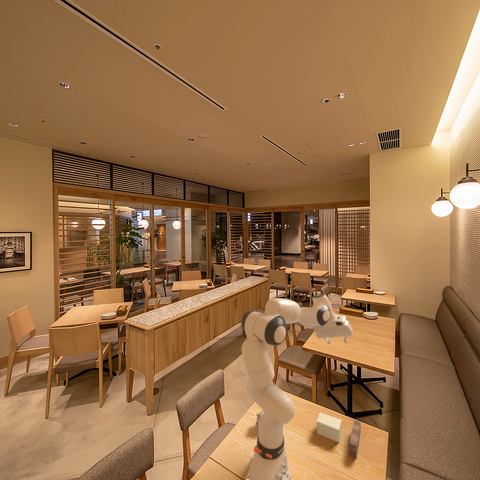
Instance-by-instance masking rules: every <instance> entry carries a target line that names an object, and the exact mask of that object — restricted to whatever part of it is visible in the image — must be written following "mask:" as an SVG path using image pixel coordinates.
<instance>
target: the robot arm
mask: <svg viewBox="0 0 480 480" xmlns="http://www.w3.org/2000/svg"><path fill="white" fill-rule="evenodd" d="M312 303H313V304H312V307H310V306H308V307H304V306H300V305H299V304H298V302H296V301H294V300H291V299H287V298H277V297H275V298H271V299H269V300H268V301H266V304H265V306H264V311H263V312H259V311H257V310H248V311H246V312H245V313H244V314H243V316H242V317H241V321H240V322H241V324H240V325H241V330H242V336H243V337H244V338H245V340H244V341H243V342H242V344H241V356H242V361H243V363H244V367H245V370H246V372H247V376H248V378H249V380H248V383H247V385H246V386H247V388H246V389H247V392H248V394H249V396H250V397H251V399H252V400H253V402H255V404H257V405H258V406H259V407H260V408H261V409H262V411H264V414H262V415H261V417H260V418H259V421H258V424H257V429H258V430H257V431H258V435H257V439H256V445H255V446H254V449H253V452H254V454H253V455H252V458H251V461H250V465H249V467H248V469H247V473H246V475H245V478H246V477H247V478H246V479H249V480H291V479H292V477H293V476H292V472H291V470H290V469H289V461H288V456H287V453H286V450H285V438H284V425H286V424H289V423H290V422H291V421H292V420H293V418H294V416H295V412H296V407H295V403H294V401H293V400H292V399H291V398H290V396H289V395H288V393H286V392H285V391H283V390H282V389H281V388H280V387H279V386H277V385H276V384H275V383H274V380H273V379H274V378H275V370H274V366H273V363H272V361H271V358H270V355H269V352H268V350H267V344H268V346H269V345H270V346H273V347H274V346H280V345H282V343H283V342H285V339H286V338H287V324H288V325H289V324H291V325H292V324H297V325H298V326H300V327H303V326H304V327H306V326H309V327H310V326H312V328H313V329H314V334H315V336H316V338H318V339H323V340H324V341H325V342H326V343H327V345H331V344H332V340H331V339H330V338H338V337H341V338H342V337H344V338H343V342H344V344H348V343H349V342H348V341H349V340H348V337H352V336H353V334H354V330H353V328H352V325H351V323H350V322H349V321H348V320H347V317H346V316H345V315H341V314H336V313H335V311H333V306H332V304H331V301H330V299H329V298H328V296H327V295H326V294H324V293H319V294H315V295H313V296H312ZM248 474H249V475H248ZM246 479H244V480H246Z"/></svg>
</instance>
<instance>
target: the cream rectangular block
mask: <svg viewBox="0 0 480 480" xmlns="http://www.w3.org/2000/svg"><path fill="white" fill-rule="evenodd" d="M342 432H343V431H342V419H341V418H337V417H334V416H331V415H329V414H326V413H323V412H321V411H320V412H319V414H318V416H317V420H316V434H317V435H320V436H322V437H324V438H326V439H329V440H332V441H334V442H336V443H338V444H339V443H340V440H341V437H342Z"/></svg>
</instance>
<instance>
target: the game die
mask: <svg viewBox="0 0 480 480" xmlns="http://www.w3.org/2000/svg"><path fill="white" fill-rule="evenodd" d="M262 414H264V411H263V410H262V411H260V412H259V413H256V414H255V415H256V422H255V425H258V421H259V418H260V417H261V415H262Z"/></svg>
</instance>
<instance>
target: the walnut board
mask: <svg viewBox="0 0 480 480" xmlns="http://www.w3.org/2000/svg"><path fill="white" fill-rule="evenodd" d="M361 424H362V423H361V421H359V420H356V419H353V425H352V429H351V435H350V440H349V457H352V458H354V459H358V457H357V456H358V453H359V445H360V444H359V443H360V438H361V433H362V432H361V428H362V427H361Z"/></svg>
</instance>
